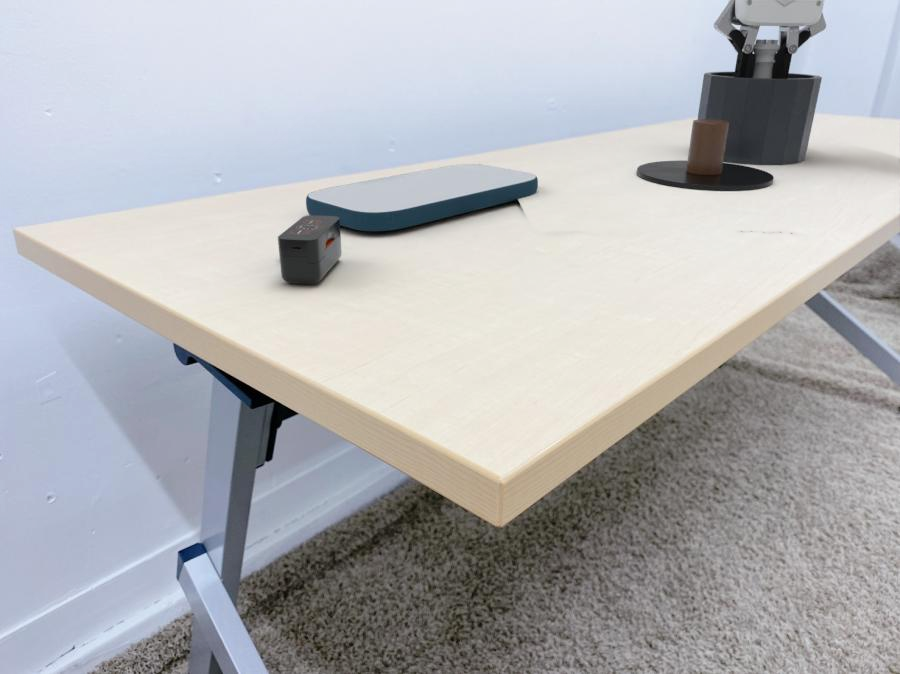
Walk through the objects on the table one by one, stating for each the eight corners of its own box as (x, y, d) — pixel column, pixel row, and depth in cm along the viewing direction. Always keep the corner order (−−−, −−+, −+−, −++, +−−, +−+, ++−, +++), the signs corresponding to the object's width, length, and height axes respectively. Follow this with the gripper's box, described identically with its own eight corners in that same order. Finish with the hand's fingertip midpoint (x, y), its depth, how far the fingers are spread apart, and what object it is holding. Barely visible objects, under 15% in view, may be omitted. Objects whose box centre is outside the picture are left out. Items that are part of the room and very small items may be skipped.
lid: (739, 169, 87) (749, 113, 84) (796, 196, 74) (810, 130, 71) (621, 169, 86) (627, 113, 84) (657, 196, 73) (666, 130, 70)
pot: (773, 151, 100) (788, 71, 95) (823, 169, 87) (843, 79, 83) (678, 151, 99) (689, 71, 95) (714, 169, 87) (729, 78, 82)
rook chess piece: (755, 110, 88) (767, 40, 84) (728, 106, 91) (739, 39, 88) (781, 108, 89) (795, 40, 86) (754, 105, 93) (766, 39, 90)
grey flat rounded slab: (373, 241, 58) (372, 217, 57) (293, 215, 65) (291, 194, 64) (550, 196, 73) (551, 176, 72) (468, 179, 80) (468, 161, 80)
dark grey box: (346, 255, 54) (344, 213, 53) (319, 287, 48) (315, 240, 46) (287, 252, 55) (284, 211, 53) (252, 284, 48) (247, 237, 47)
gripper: (731, -86, 78) (705, 89, 86) (877, -83, 79) (838, 90, 86) (706, -77, 85) (684, 84, 93) (841, -75, 86) (808, 85, 93)
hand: (759, 85), depth 89 cm, fingers closed on rook chess piece, 3 cm apart
